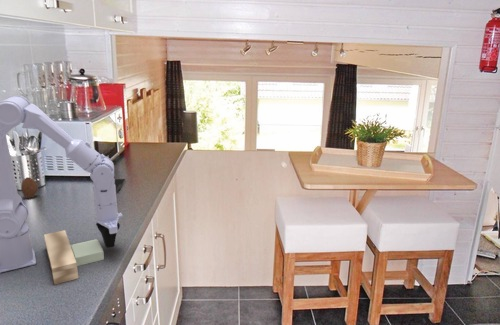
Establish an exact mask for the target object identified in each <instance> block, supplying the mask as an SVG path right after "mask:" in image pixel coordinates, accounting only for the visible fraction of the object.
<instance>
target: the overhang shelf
mask: <svg viewBox="0 0 500 325" xmlns="http://www.w3.org/2000/svg"><path fill="white" fill-rule="evenodd" d="M43 240H44V244H45V249H46V250H45V251H46V252H47V259H48V264H49V267H50V270H51V272H52V279H53V285H55V286H56V285H59V284H63V283H66V282H70V281H73V280H77V279H79V271H78V266H77V262H76V260H75V257H74V254H73V251H72V248H71V245H72V244H70V239H69V236H68V235H67V231H66V230H59V231H54V232H50V233H46V234H43Z"/></svg>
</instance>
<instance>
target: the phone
mask: <svg viewBox="0 0 500 325" xmlns="http://www.w3.org/2000/svg"><path fill="white" fill-rule="evenodd" d="M114 179H115V183H114V184H115V186H116V195H117V194H119V192H120V191H121V189H122V188H123V187H124V185H125V183H127V182H126V180H127V179H126V178H114Z"/></svg>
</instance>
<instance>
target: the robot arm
mask: <svg viewBox="0 0 500 325" xmlns="http://www.w3.org/2000/svg"><path fill="white" fill-rule="evenodd" d="M20 124H22V126H21V128H22V129H32V130H38V131H40V132H41V133H42V134H43V135H45V136H46V137H47V138H49V139H50V140H52V141H53V142H55V143H56V144H58V145H59V146H60V147H62V148H63V149H64V150H65V156H66V157H67V158H68V159H69V160H71V161H72V162H73V163H75V164H76V165H77V166H79V168H81V169H82V170H83V171H85V172H87V173H89V177H90V179H91V180H92V182H93V186H92V187H93V188H92V189H93V190H92V191H93V200H94V211H95V218H94V219H95V222H96V224H95V225H96V227H97V229H98V230H99V232H100V234H101V236H102V240H103V243H104V245H105V247H106V249H109V248H113V247H115V244H116V240H117V238H116V237H117V234H118V233H119V229H120V227H121V226H120V223H119V219H121V218H123V214H122V212H118V203H117V202H118V201H117V200H118V199H117V194H116V186H115V184H114V183H115V179H116V178H114V177H115V165H114V162H113V161H112V160H111V158H110V157H108V156H106V155H104V153H100V152H98V151H97V150H96V149H95V148H94V147H91V142H90V141H88V140H86V141H84V140H83V139H81V138H78V139H77V138H73V137H72V136H71V135H70V134H69V133H68V132H66V131H65V130H64V129H63V128H62V127H61V126H60V125H58V124H57V123H56V122H55V121H54V120H53V119H52V118H50V117H49V116H48V115H47V114H46V113H45V112H44V111H43V110H42V109H40V107H38V106H37V105H36V104H34V103H31V102H30V101H29V99H28V98H26V97H24V96H22V95H15V94H14V95H11V96H8V97H7V98H5V99H4V100H0V273H5V272H9V271H13V270H18V269H21V268H25V267H30V266H34V265H36V264H37V259H36V255H35V249H33V246H32V240H31V235H30V228H29V225H28V224H27V222H26V220H27V218H28V216H29V209H28V207H27V206H26V205H25V204H24V202H23V198H22V196H21V195H20V194H19V193H18V192H19V191H18V188H17V183H16V179H15V173H14V168H13V164H12V159H11V154H10V150H9V149H10V148H9V145H8V140H7V135H8V134H9V133H10V132H11V130H12V129H14V128H16V127H18V126H19V125H20Z"/></svg>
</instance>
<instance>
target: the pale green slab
mask: <svg viewBox="0 0 500 325" xmlns="http://www.w3.org/2000/svg"><path fill="white" fill-rule="evenodd" d="M70 245H71V248H72V251H73V254H74V257H75V260H76V262H77V267H79V266H80V267H81V266H84V265H87V264H91V263H95V262H99V261H104V260H105V256H104V255H105V254H104V249H103V247H102V246H101V244H100V241H99V240H98V239H97V238H95V239H91V240H87V241H86V240H85V241H82V242H77V243H73V244H70Z"/></svg>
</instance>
